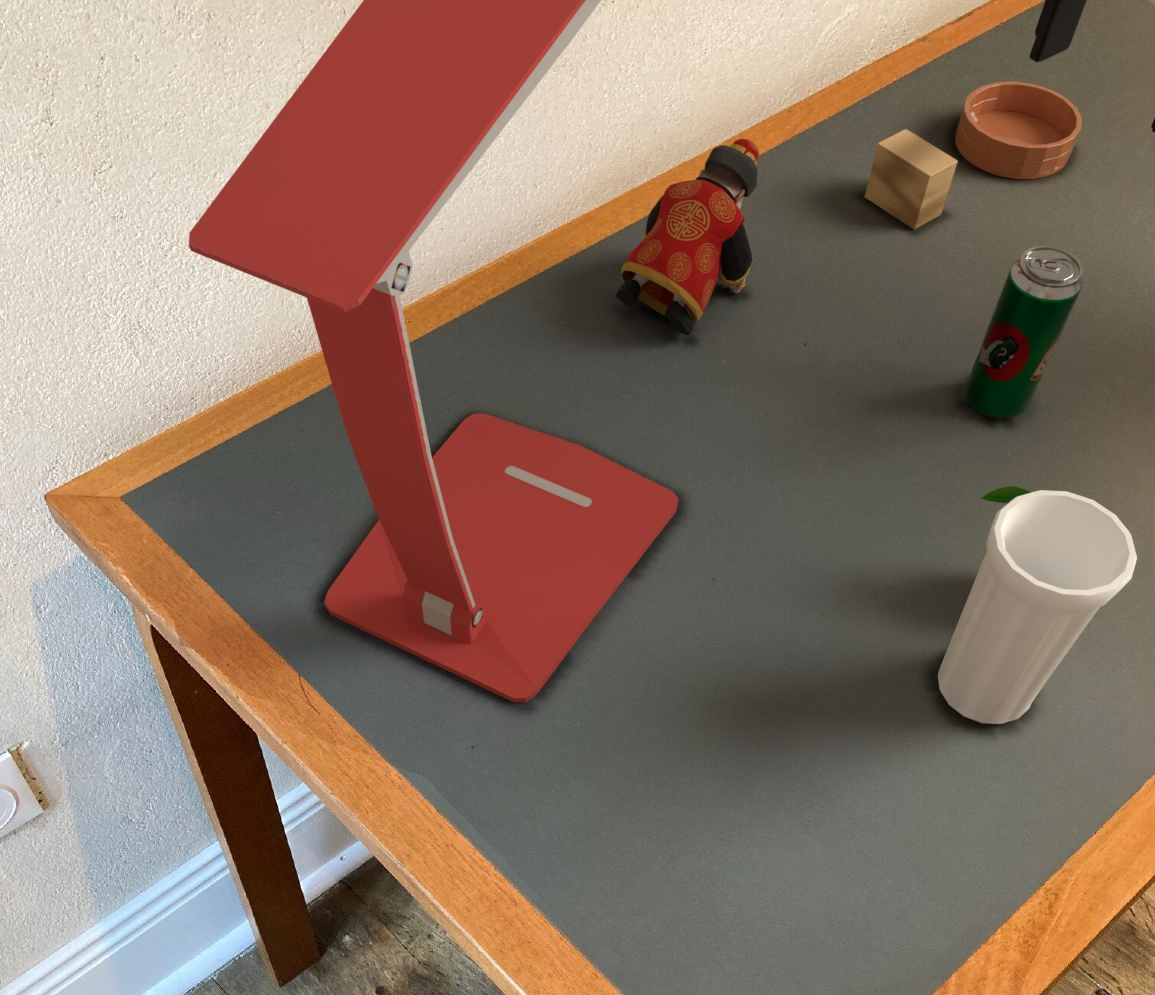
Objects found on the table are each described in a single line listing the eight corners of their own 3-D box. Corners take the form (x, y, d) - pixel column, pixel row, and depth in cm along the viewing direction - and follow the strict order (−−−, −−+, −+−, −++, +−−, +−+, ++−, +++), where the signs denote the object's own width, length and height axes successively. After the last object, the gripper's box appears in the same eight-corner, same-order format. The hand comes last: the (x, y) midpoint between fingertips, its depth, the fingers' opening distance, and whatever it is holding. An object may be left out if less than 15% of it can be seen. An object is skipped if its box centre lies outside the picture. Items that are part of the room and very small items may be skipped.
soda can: (1028, 426, 90) (1090, 292, 80) (962, 418, 90) (1015, 283, 80) (1026, 382, 93) (1086, 246, 82) (962, 374, 93) (1013, 238, 83)
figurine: (708, 368, 98) (803, 213, 98) (698, 319, 89) (803, 147, 88) (613, 317, 100) (706, 164, 100) (593, 263, 91) (696, 94, 90)
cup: (927, 628, 80) (995, 476, 67) (1047, 652, 79) (1139, 502, 67) (916, 724, 76) (987, 581, 63) (1043, 751, 75) (1139, 611, 63)
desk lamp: (748, 406, 90) (869, -241, 56) (491, 780, 73) (437, 170, 39) (547, 329, 95) (545, -319, 60) (258, 664, 77) (22, 20, 43)
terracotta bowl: (1092, 151, 109) (1105, 119, 106) (1019, 193, 105) (1031, 161, 103) (1004, 100, 113) (1015, 68, 110) (931, 139, 109) (940, 107, 107)
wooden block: (941, 214, 104) (958, 160, 99) (914, 230, 102) (930, 176, 98) (891, 182, 106) (905, 128, 102) (864, 197, 105) (877, 143, 100)
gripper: (1445, -213, 56) (1258, 135, 71) (1158, -328, 63) (1042, 11, 78) (1354, -175, 54) (1180, 178, 68) (1066, -299, 61) (964, 46, 75)
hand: (1107, 89), depth 73 cm, fingers open, 9 cm apart
